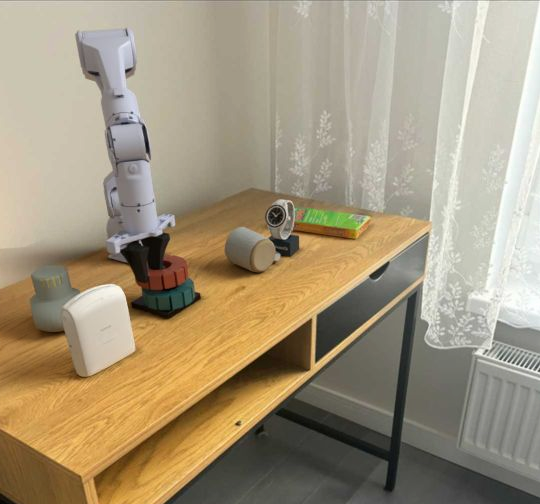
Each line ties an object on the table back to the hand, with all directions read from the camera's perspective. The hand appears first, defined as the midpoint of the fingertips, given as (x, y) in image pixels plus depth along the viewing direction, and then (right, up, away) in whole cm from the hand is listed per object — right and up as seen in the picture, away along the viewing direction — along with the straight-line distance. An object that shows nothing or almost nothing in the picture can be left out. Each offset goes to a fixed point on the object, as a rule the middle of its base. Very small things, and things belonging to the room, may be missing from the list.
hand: (149, 277), depth 106 cm
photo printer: (-5, -15, -11) cm, 19 cm away
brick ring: (+2, 0, +3) cm, 3 cm away
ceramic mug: (+18, +5, +19) cm, 27 cm away
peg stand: (+2, -4, +6) cm, 7 cm away
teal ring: (+3, -3, +5) cm, 6 cm away
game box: (+33, +16, +36) cm, 52 cm away
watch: (+24, +8, +25) cm, 35 cm away
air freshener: (-15, -8, 0) cm, 17 cm away
